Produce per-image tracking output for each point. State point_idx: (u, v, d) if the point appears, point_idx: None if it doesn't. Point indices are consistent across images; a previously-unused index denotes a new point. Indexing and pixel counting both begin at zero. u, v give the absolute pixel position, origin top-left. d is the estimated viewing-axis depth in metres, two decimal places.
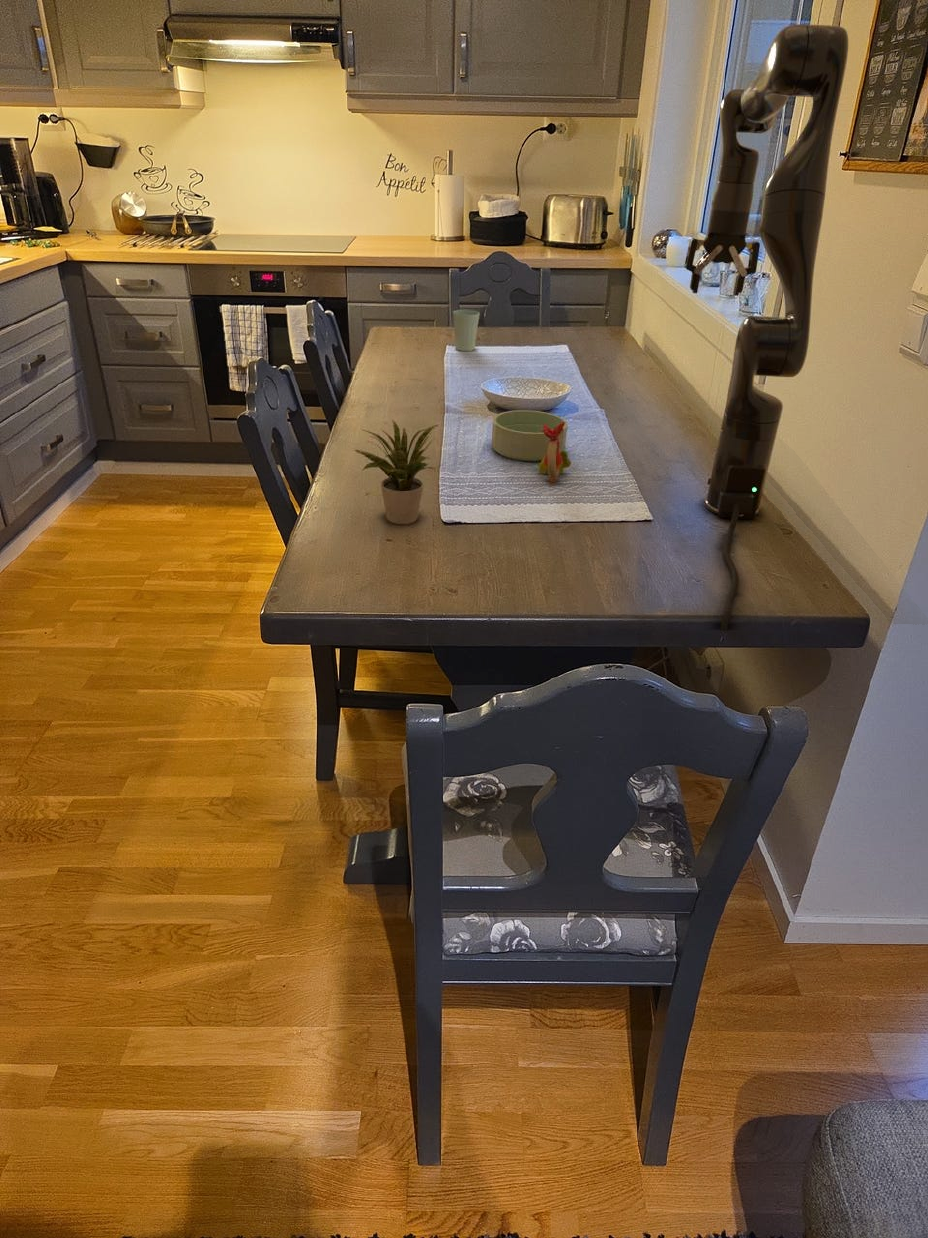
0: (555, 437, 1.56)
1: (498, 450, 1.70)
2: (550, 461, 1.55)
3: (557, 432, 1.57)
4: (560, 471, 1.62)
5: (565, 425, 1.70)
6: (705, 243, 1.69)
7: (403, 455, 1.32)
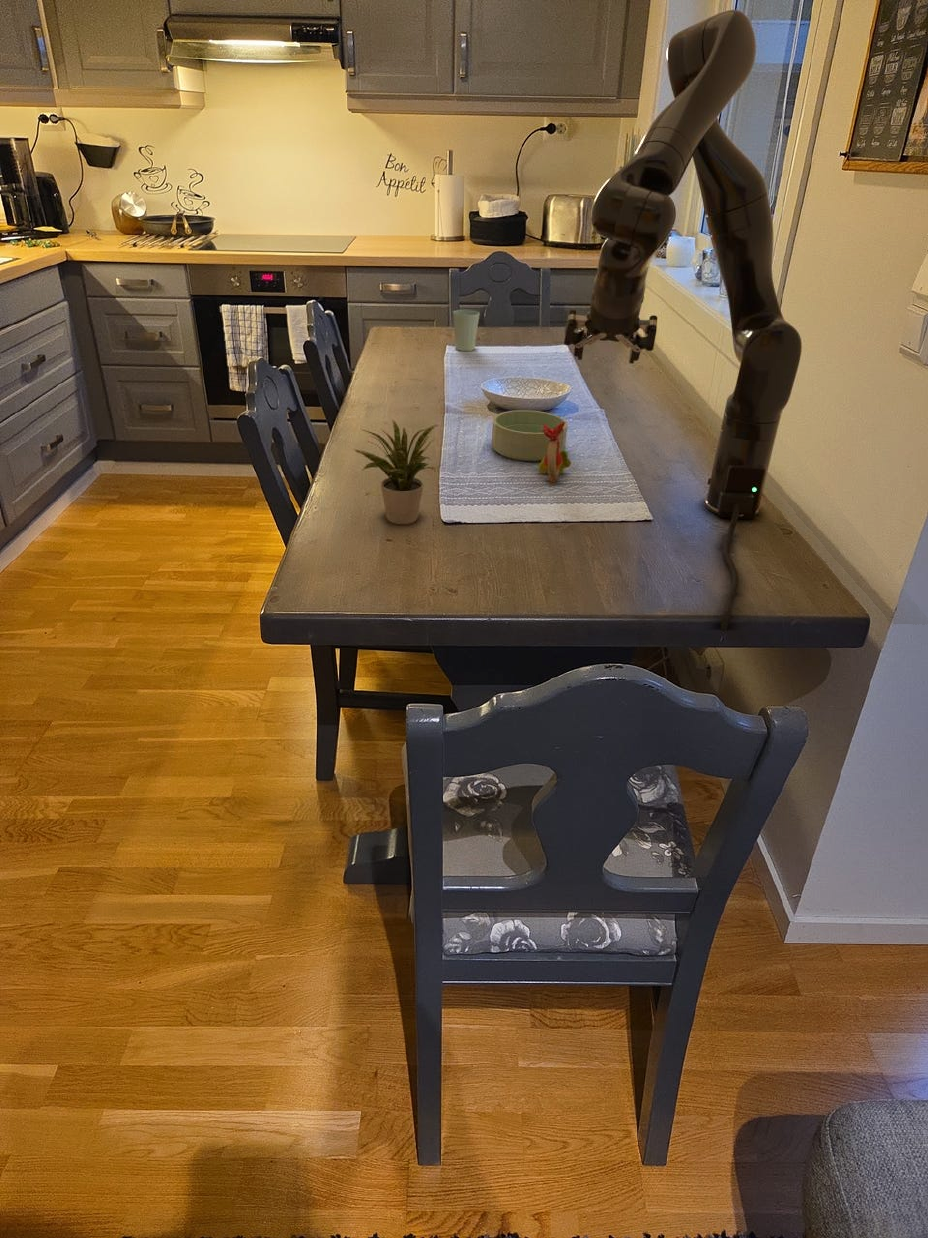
0: (555, 437, 1.56)
1: (498, 450, 1.70)
2: (550, 461, 1.55)
3: (557, 432, 1.57)
4: (560, 471, 1.62)
5: (565, 425, 1.70)
6: None
7: (403, 455, 1.32)
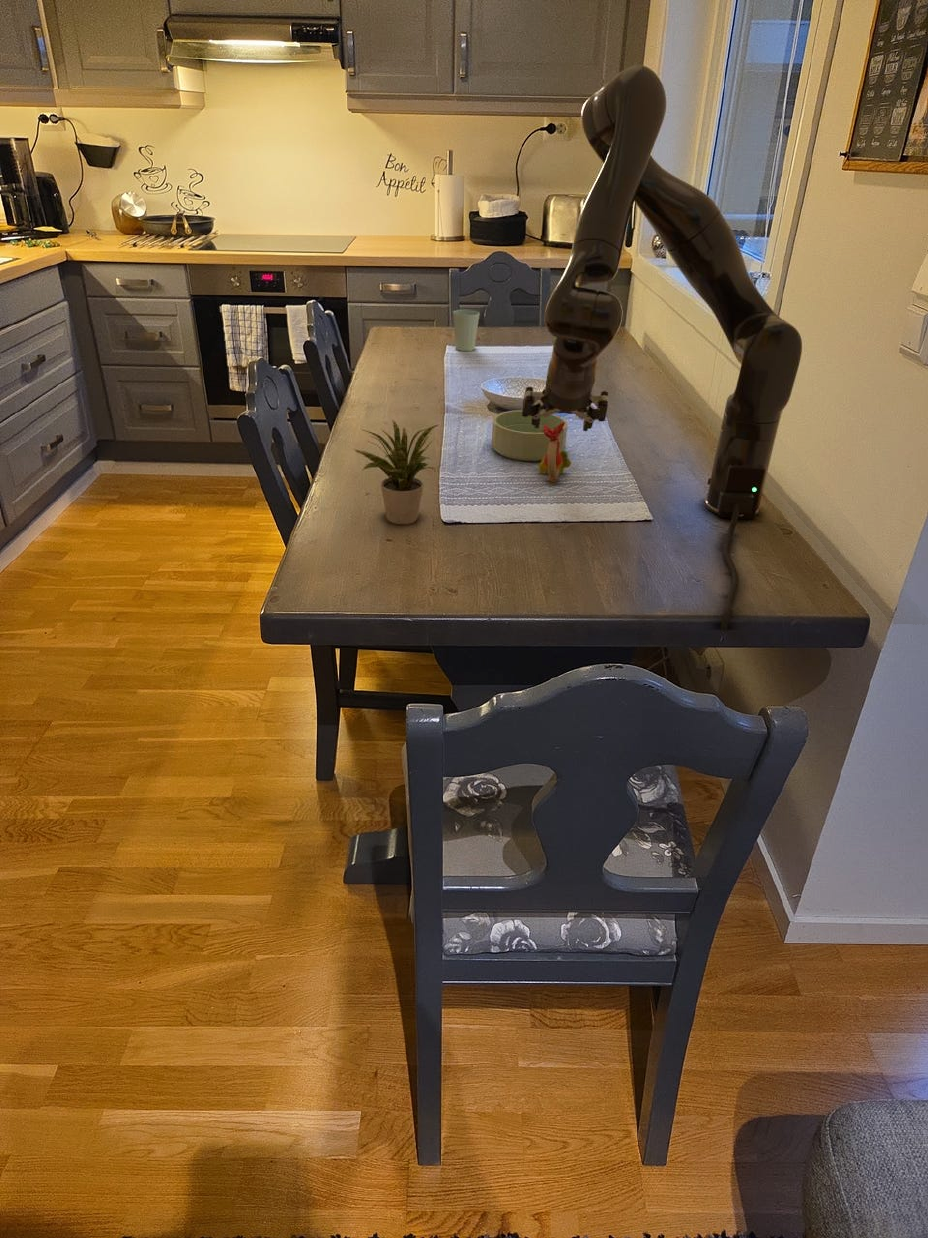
0: (555, 437, 1.56)
1: (498, 450, 1.70)
2: (550, 461, 1.55)
3: (557, 432, 1.57)
4: (560, 471, 1.62)
5: (565, 425, 1.70)
6: None
7: (403, 455, 1.32)
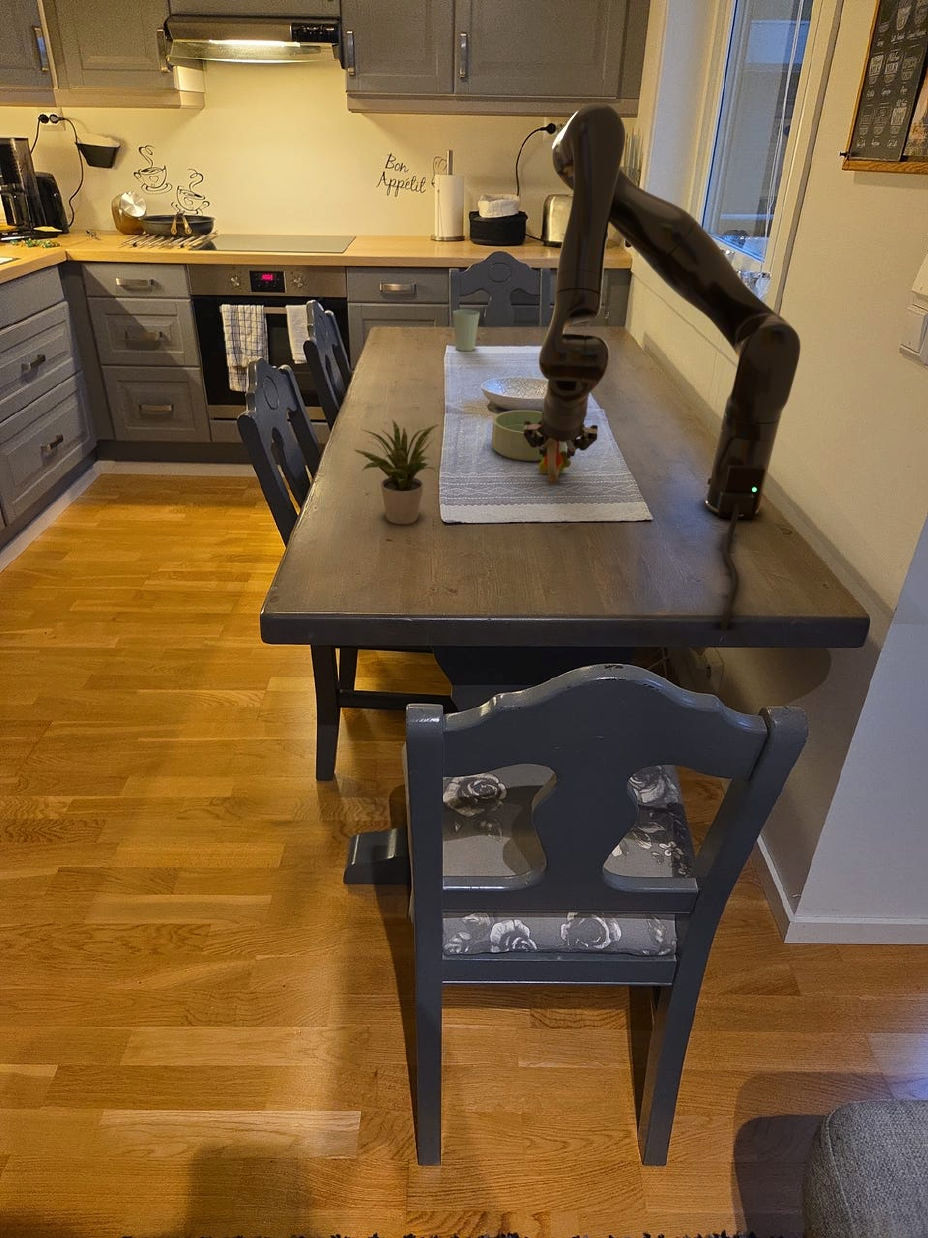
0: None
1: (498, 450, 1.70)
2: (550, 461, 1.55)
3: None
4: (560, 471, 1.62)
5: None
6: None
7: (403, 455, 1.32)
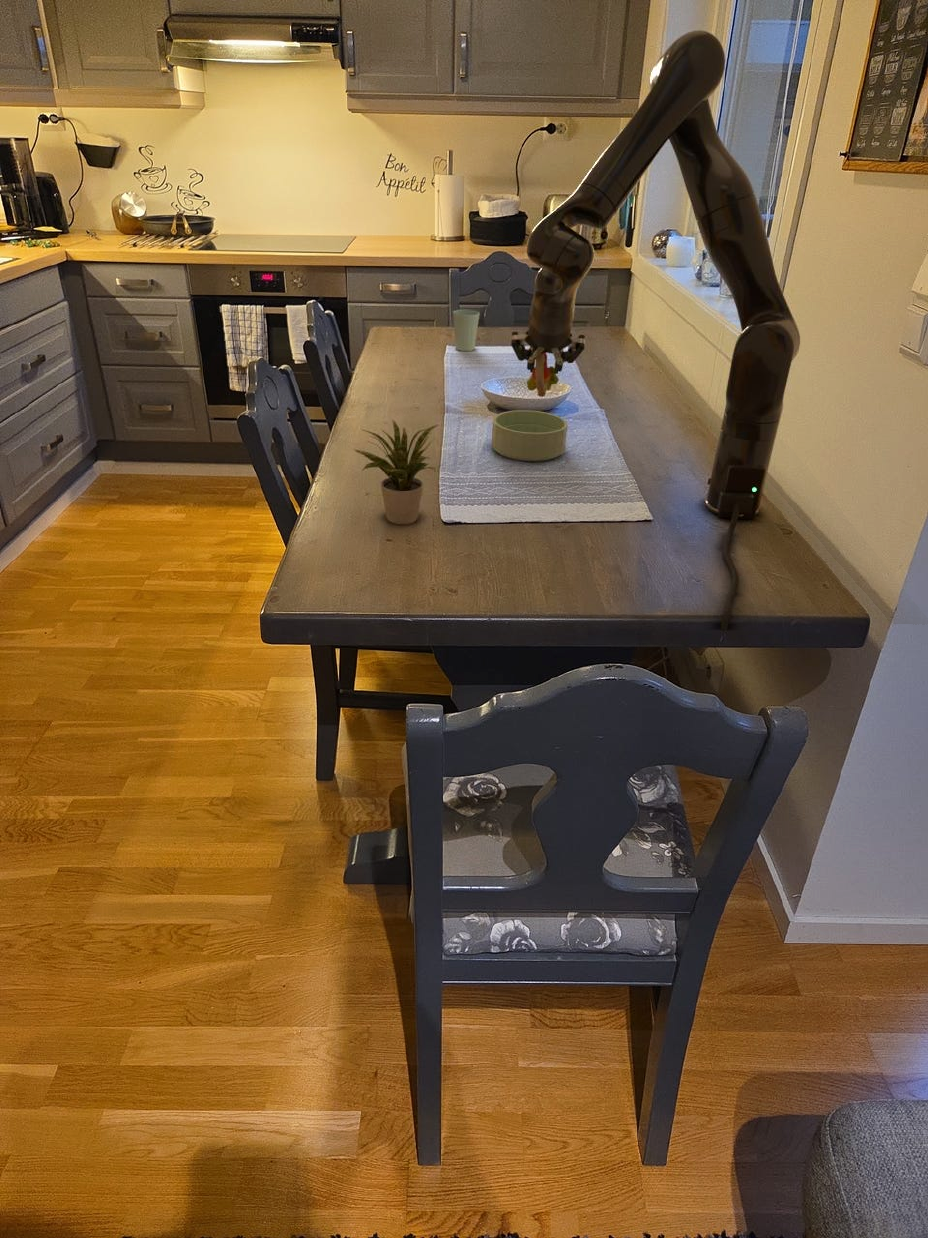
0: None
1: (498, 450, 1.70)
2: (538, 373, 1.55)
3: None
4: (548, 387, 1.63)
5: (565, 425, 1.70)
6: None
7: (403, 455, 1.32)
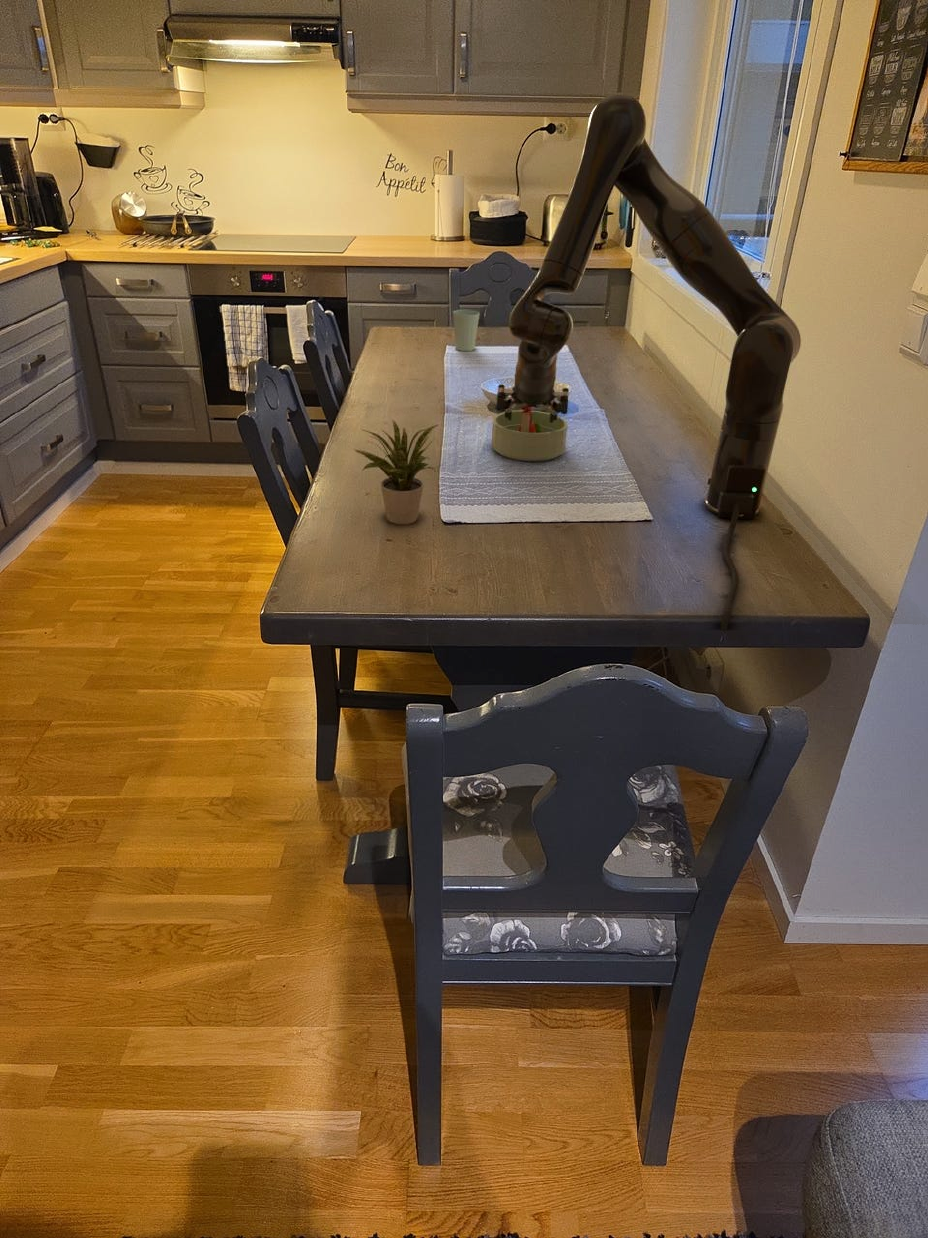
0: (528, 409, 1.69)
1: (498, 450, 1.70)
2: (523, 431, 1.67)
3: None
4: None
5: (565, 425, 1.70)
6: None
7: (403, 455, 1.32)
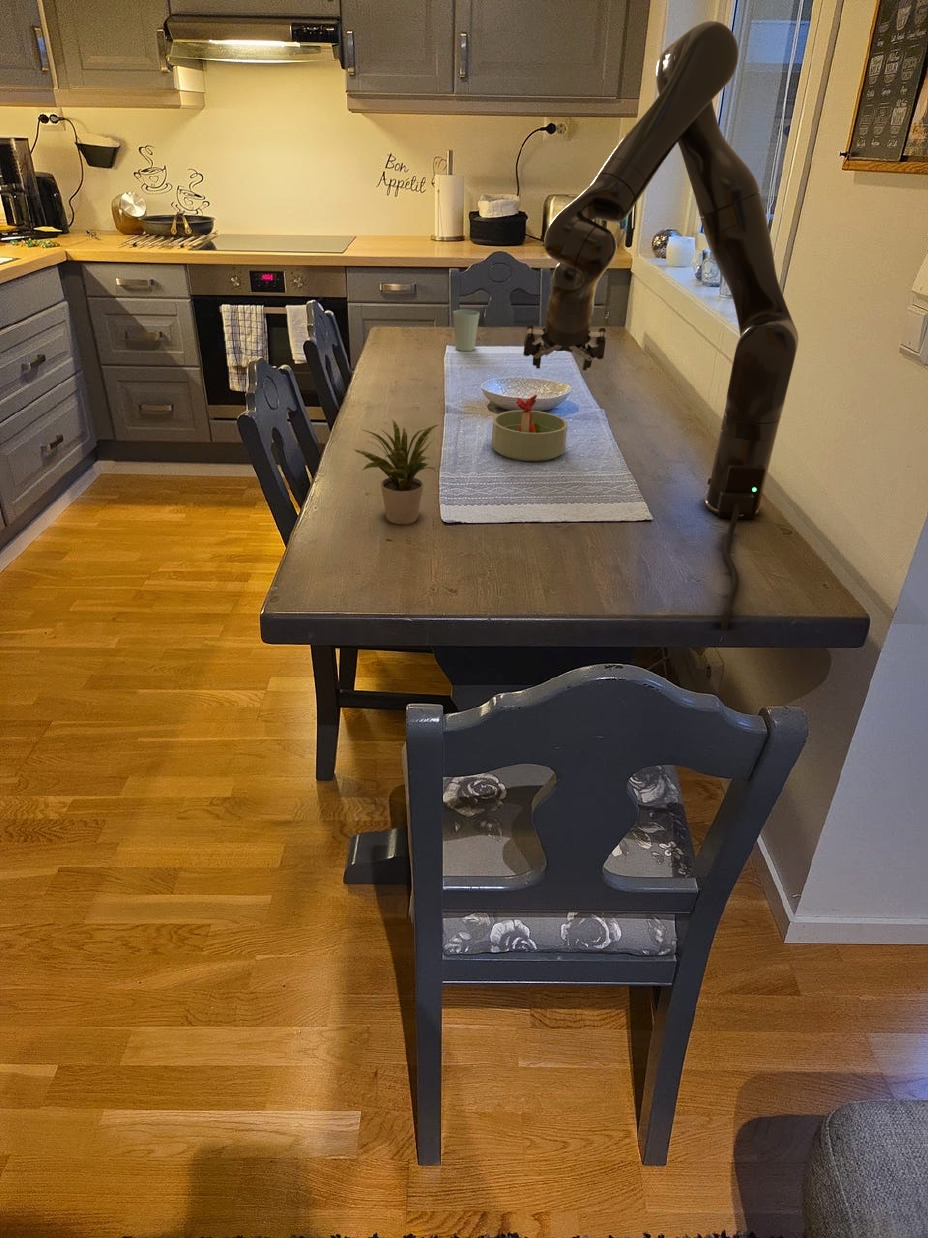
0: (528, 409, 1.69)
1: (498, 450, 1.70)
2: (523, 431, 1.67)
3: (530, 404, 1.70)
4: None
5: (565, 425, 1.70)
6: None
7: (403, 455, 1.32)
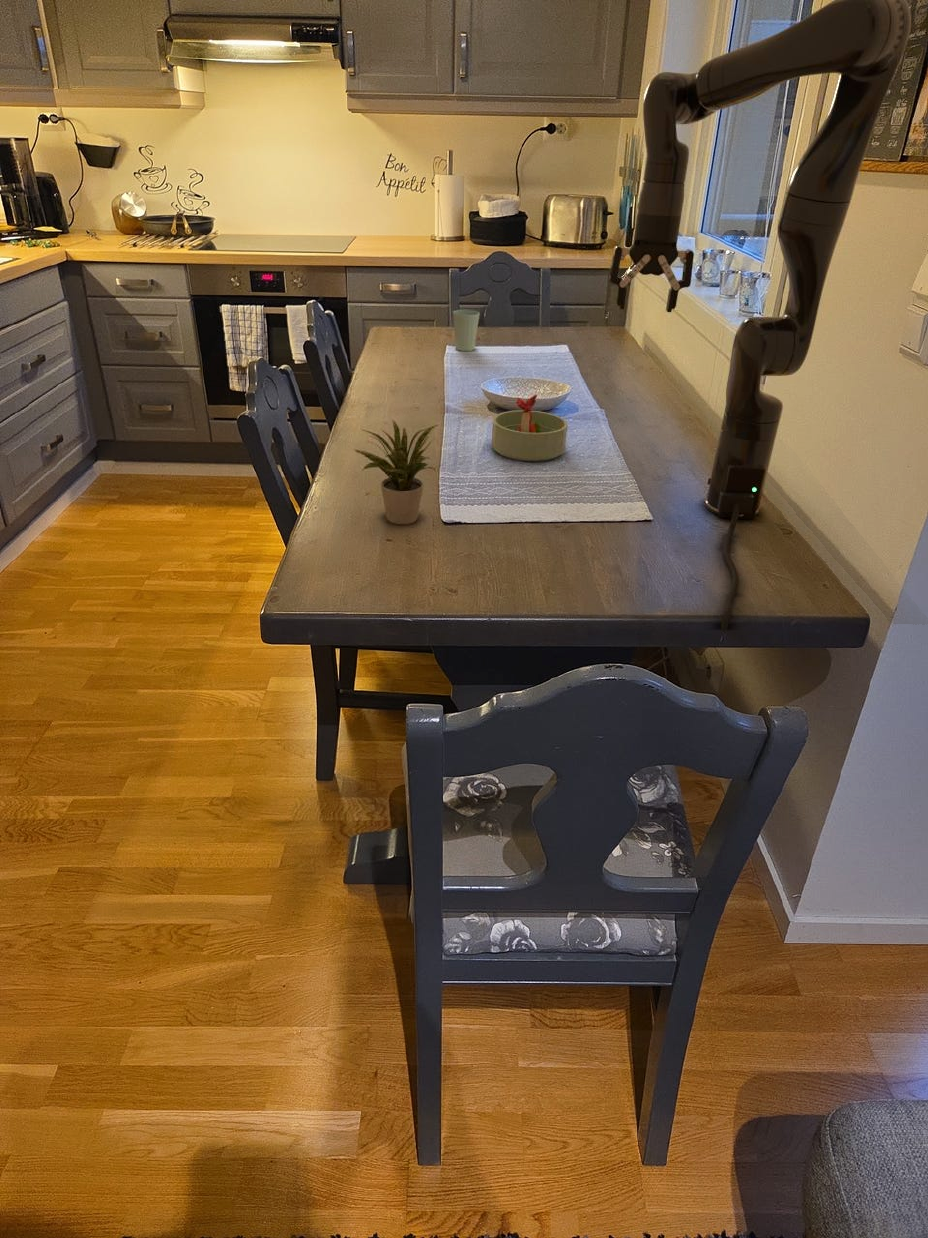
0: (528, 409, 1.69)
1: (498, 450, 1.70)
2: (523, 431, 1.67)
3: (530, 404, 1.70)
4: None
5: (565, 425, 1.70)
6: (631, 252, 1.46)
7: (403, 455, 1.32)
